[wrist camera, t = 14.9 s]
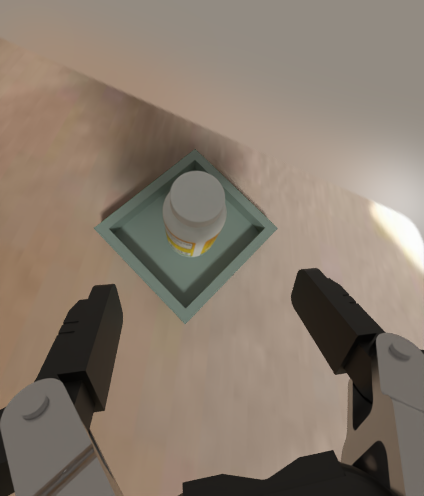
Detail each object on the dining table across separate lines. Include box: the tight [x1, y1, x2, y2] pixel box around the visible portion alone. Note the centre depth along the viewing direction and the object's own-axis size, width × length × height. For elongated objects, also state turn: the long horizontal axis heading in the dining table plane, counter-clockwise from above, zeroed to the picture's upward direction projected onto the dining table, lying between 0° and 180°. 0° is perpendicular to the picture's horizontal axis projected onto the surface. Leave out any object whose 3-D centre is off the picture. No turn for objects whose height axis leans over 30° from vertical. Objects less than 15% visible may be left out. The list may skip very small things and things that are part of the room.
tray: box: [94, 149, 278, 324], centre depth 25 cm, size 14×13×2 cm
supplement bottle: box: [163, 171, 227, 257], centre depth 21 cm, size 5×5×10 cm
